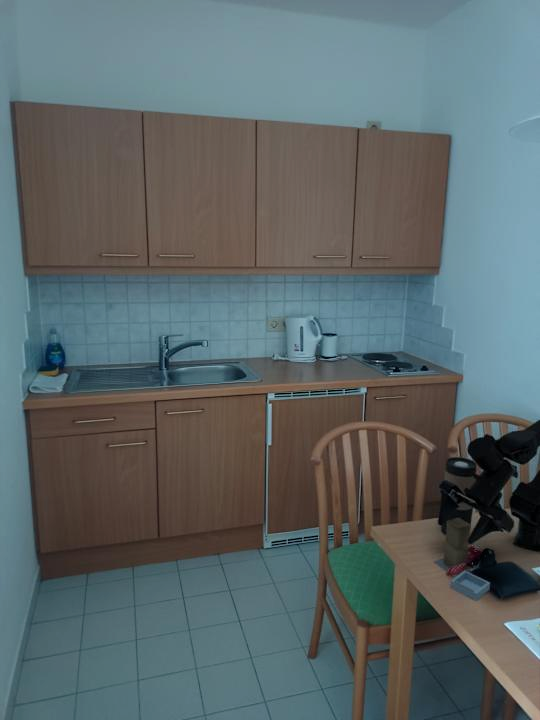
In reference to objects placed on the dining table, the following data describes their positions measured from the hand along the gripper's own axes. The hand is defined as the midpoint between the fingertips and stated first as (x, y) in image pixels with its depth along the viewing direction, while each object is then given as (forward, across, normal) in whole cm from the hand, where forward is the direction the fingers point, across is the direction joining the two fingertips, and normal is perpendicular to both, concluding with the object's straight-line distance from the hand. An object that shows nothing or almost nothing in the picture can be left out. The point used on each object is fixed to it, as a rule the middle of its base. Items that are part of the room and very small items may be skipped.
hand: (453, 533), depth 122 cm
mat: (+5, 0, -7) cm, 9 cm away
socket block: (+8, -8, -5) cm, 12 cm away
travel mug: (-3, +12, -16) cm, 20 cm away
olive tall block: (+5, 0, -7) cm, 9 cm away
